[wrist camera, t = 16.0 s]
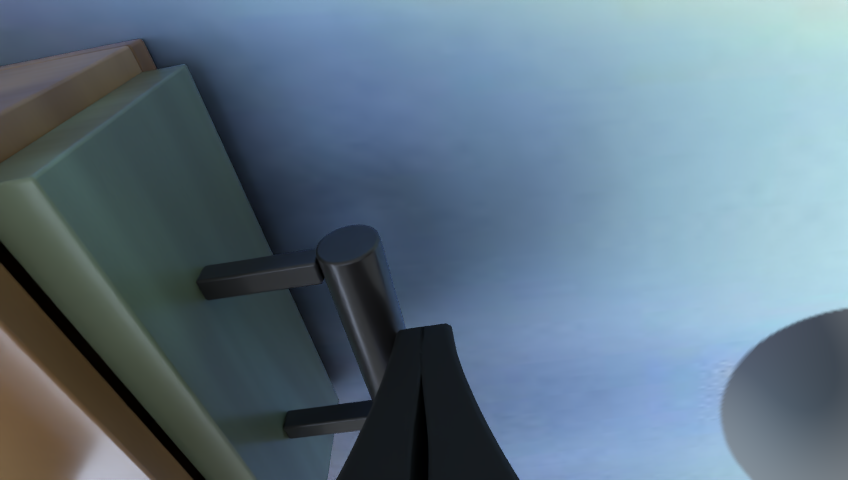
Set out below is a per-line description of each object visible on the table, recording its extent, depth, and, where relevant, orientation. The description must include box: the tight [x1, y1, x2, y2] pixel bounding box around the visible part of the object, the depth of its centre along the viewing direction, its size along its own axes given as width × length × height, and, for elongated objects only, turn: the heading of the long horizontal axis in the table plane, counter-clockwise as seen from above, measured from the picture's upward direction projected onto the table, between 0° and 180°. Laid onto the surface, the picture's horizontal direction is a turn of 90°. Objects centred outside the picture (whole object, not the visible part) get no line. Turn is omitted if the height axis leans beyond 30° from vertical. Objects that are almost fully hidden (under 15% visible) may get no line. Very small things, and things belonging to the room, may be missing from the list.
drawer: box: [0, 64, 406, 480], centre depth 13 cm, size 18×13×6 cm
